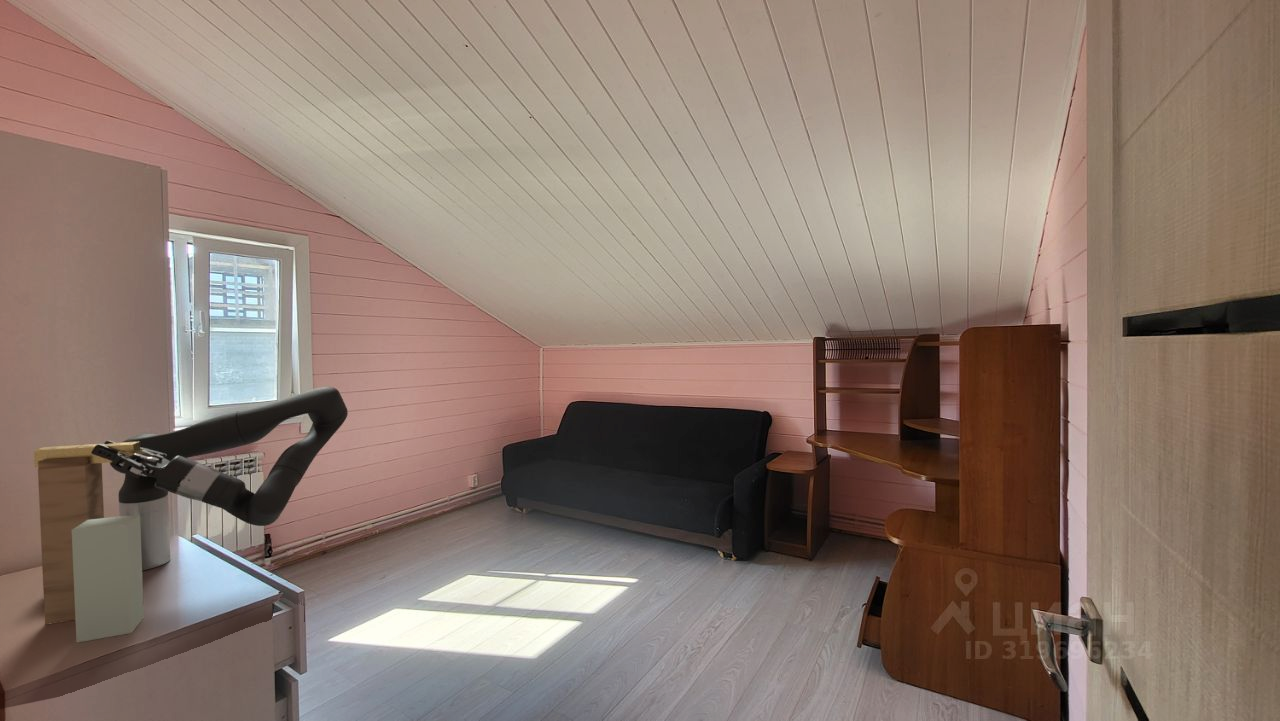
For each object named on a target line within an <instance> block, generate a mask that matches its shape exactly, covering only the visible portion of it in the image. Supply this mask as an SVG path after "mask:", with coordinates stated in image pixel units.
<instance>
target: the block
mask: <svg viewBox="0 0 1280 721" xmlns="http://www.w3.org/2000/svg"><path fill="white" fill-rule="evenodd" d="M72 550H73V573H74V596H75V619H76V620H75V636H76V637H75V638H76V640H75V641H76V644H77V643H82V642H89V641H93V640H94V641H95V640H100V639H107V638H111V637H116V636H117V637H118V636H122V635H128V634H132V633H133V632H134V631H135V629H136V628H138V626H139V625H140V624H141V623H142V621H143V620H144V619H145V611H144V589H143V588H144V587H143V586H144V585H143V584H144V583H143V570H142V555H141V528H140V514H139V515H129V516H120V517H119V516H110V517H104V518H101V519H91V520H87V521H85V522H83V523H82V524H80V525H79V526H77V527H75V528H74V529H72ZM143 618H144V619H143ZM142 619H143V620H142Z"/></svg>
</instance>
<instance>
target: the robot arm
mask: <svg viewBox="0 0 1280 721" xmlns="http://www.w3.org/2000/svg"><path fill="white" fill-rule="evenodd" d="M348 414H349V413H348V408H347V406H346V403H345V401H344V399H343V397H342V394H341V393H340V391H339V389H337V388H335V387H333V386H323V387H317V388H312V389H310V390H307V391H304V392H301V393H298V394H295V395H292V396H288V397H287V398H286V397H285V398H283V399H280V400H277V401H273V402H270V403H265V404H263V405H258V406H255V407H250V408H246V409H241V410H237V411H234V412H228V413H226V414H221V415H217V416H215V417H212V418H209V419H206V420H203V421H200V422H197V423H195V424H193V425H190V426H187V427H185V428H182V429H179V430H176V431H172V432H168V433H161V434H156V433H143V434H138V435H136V436H133V437H131V438H127V439H125V440H124V441H122V442H139V441H140V454H137V453H134V454H128V453H125V452H122V451H119V450H116V449H113V448H110V447H107V446H105V445H102V444H106V443H117V442H115V441H112V440H106V441H105V442H104V443H97V444H98V445H96V446H95V447H94V449H93V450H92V452H91V453H92V454H94V455H96V456H99V457H102V458H105V459H108V460H112V461H111V462H109V465H110V466H111V468H113V470H115V471H117V473H120V474H123V475H124V476H125V477H124V480H123V483H122V485H121V487H120V489H119V490H118V513H119V515H118V517H120V516H129V515H139V514H140V528H141V555H142V571H145V570H150V569H153V568H157V567H160V566H162V565H165V564H166V563H168V562H169V561H171V538H170V537H171V536H170V535H171V534H170V511H169V509H170V508H169V493H172V494H174V495H177V496H181V497H184V498H186V499H189V500H194V501H198V502H202V503H204V504H207V505H209V506H213V507H216V508H220V509H222V510H224V511H225V512H227V513H228V514H230V515H232V516H233V517H235V518H236V519H238V520H240V521H242V522H244V523H247V524H249V525H251V526H257V527H258V526H259V527H265V526H270V525H272V524H273V523H275V522H276V521H277V520H278V519H279V517H280V516H281V514H282V513H283V511H284V510H285V508H286V506H287V505H288V502H289V501H290V499H291V497H292V495H293V493H294V491H295V489H296V487H297V486H299V483H300V482H301V480H302V479H303V477H304V476H305V474H306V472H307V470H308V469H309V467H310V465H311V464H312V463H313V461H314V459H315V457H316V456H317V455H319V454H318V453H319V452H320V451H322V449H323V447H325V446H326V444H327V443H328V442H329V440H330V439H332V437H333V436H334V435H335V434H336V433H337V431H338V430H339V429H340V428H341V427H342V425H343V424H344V422H345V421H346V419H347V417H348ZM302 415H308V417H309V418H310V421H311V422H312V424H311V427H310V429H309V431H308V432H307V434H306V435H305V437H304V438H302V439H301V440H299V441H297V442H295V443H293V444H291V445H290V446H289V447H287V448H286V449H285V450H283V452H282V453H281V454H280V456H279V457H278V458H277V460H276V461H275V463H274V465H273V466H272V468H271V469H270V471H269V473H268V475H267V477H266V478H265V480H264V481H263V482H262V483H261V485H260V486H259V487H258V488H257V490H256V491H255V493H254V492H252V491H251V490H249V489H247V488H246V483H245V482H244V480H242V479H239V478H238V477H235V476H232V475H229V474H227V473H224V472H221V471H219V470H217V469H215V468H213V467H211V466H209V465H205V464H203V463H201V462H198V461H195V460H192V459H191V458H194V457H200V456H204V455H209V454H214V453H218V452H223V451H226V450H232V449H235V448H238V447H242V446H246V445H250V444H254V443H256V442H259V441H260V440H262V439H264V437H266V436H268V435H269V434H271V432H272V431H273V430H274V429H275V428H277V427H278V426H279V425H281V423H284V422H285V421H287V420H289V419H291V418H295V417H298V416H302ZM122 442H120V443H122ZM136 458H137V459H136ZM134 459H136V460H134ZM122 460H123V461H122Z"/></svg>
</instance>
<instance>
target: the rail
mask: <svg viewBox="0 0 1280 721" xmlns="http://www.w3.org/2000/svg"><path fill="white" fill-rule="evenodd" d="M98 444H99V443H93V444H89V443H88V444H78V445H77V444H75V445H73V444H72V445H61V446H60V445H59V446H44V447H43V446H42V447H40V448H37V449H35V450H33V458H34V459H33V460H34V463H33V464H34V468H38V461H41V460H54V459H69V458H84V457H88V464H93V463H102V464H105V463H110V462H111V461H112V460H108V459H105V458H102V457H99V456H96V455H94V454H92V453H91V452H92V450H93V449H94V447H95V446H96V445H98ZM101 444H102V445H105V446H107V447H110V448H113V449H116V450H119V451H122V452H125V453H128V454H134V453H137V454H140V441H139V442H123V441H122V443H121V442H116V443H106V444H104V443H101ZM136 459H137V458H136ZM136 459H134V460H136ZM122 461H123V460H122Z"/></svg>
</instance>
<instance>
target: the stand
mask: <svg viewBox="0 0 1280 721" xmlns="http://www.w3.org/2000/svg"><path fill="white" fill-rule="evenodd" d="M37 468H38V469H37V479H38V482H37V483H38V501H39V503H38V504H39V523H40V545H41V564H42V565H41V567H42V568H41V570H42V586H43V587H42V590H43V591H42V592H43V609H44V611H43V612H44V613H43V614H44V625H45V624H47V625H50V624H49V623H53V624H56V623H55V622H59V623H62V622H61V621H65V622H70V621H69V620H71V621H76V620H75V596H74V573H73V550H72V529H74V528H75V527H77V526H79V525H80V524H82V523H83V522H85V521H87V520H91V519H101V518H105V513H104V508H105V507H104V489H103V487H104V486H103V485H104V484H103V483H104V482H103V463H93V464H88V457H84V458H69V459H54V460H41V461H38V467H37Z"/></svg>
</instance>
